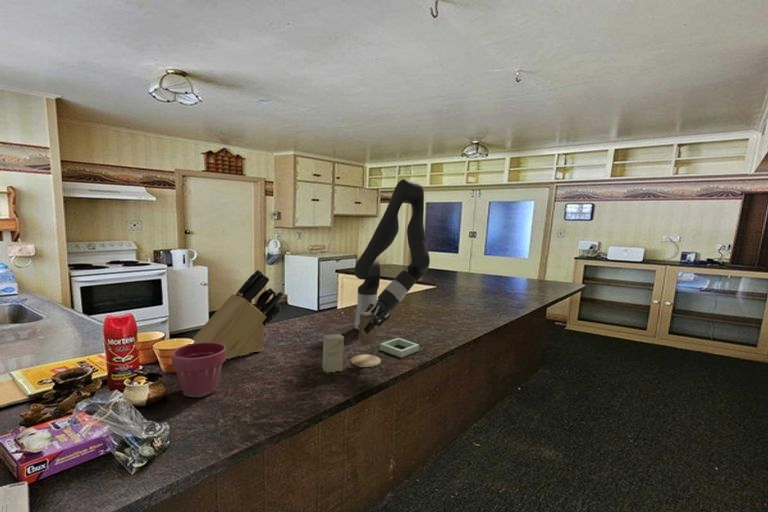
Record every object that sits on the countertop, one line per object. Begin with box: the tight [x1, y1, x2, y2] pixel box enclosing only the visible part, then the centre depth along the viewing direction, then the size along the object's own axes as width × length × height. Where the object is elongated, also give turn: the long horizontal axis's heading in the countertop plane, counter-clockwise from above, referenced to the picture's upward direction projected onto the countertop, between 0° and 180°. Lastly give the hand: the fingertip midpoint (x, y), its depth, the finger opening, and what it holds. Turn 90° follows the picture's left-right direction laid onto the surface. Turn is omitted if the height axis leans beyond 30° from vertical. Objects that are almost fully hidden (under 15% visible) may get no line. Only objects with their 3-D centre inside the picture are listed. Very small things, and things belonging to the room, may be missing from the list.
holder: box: [379, 337, 420, 359], centre depth 149 cm, size 11×11×2 cm
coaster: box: [350, 354, 382, 368], centre depth 136 cm, size 11×11×1 cm
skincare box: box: [321, 333, 345, 373], centre depth 127 cm, size 6×4×12 cm
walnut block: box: [358, 312, 377, 347], centre depth 135 cm, size 4×4×11 cm
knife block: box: [191, 269, 284, 358], centre depth 138 cm, size 11×35×31 cm, turn 137°
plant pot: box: [171, 342, 227, 394], centre depth 109 cm, size 14×14×13 cm
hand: (362, 329), depth 134 cm, fingers closed on walnut block, 4 cm apart
